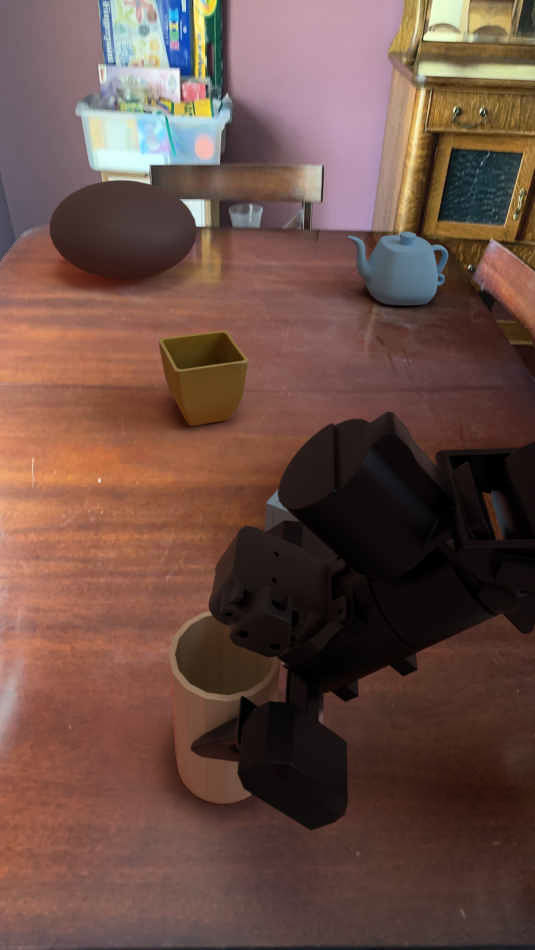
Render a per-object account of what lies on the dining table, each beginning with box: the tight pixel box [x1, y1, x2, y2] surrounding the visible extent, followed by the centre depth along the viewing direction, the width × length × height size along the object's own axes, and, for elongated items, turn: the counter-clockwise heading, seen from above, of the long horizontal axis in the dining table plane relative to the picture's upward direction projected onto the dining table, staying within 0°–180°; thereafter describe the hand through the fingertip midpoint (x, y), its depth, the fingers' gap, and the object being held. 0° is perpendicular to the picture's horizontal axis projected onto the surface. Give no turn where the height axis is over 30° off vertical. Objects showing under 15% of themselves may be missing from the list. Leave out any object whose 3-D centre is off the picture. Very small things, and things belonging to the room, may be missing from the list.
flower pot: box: [158, 330, 249, 427], centre depth 82 cm, size 9×9×9 cm
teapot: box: [347, 231, 449, 306], centre depth 115 cm, size 13×11×18 cm
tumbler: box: [168, 610, 281, 805], centre depth 45 cm, size 7×7×12 cm
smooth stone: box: [49, 179, 198, 280], centre depth 117 cm, size 25×25×15 cm
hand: (204, 700), depth 45 cm, fingers closed on tumbler, 7 cm apart
